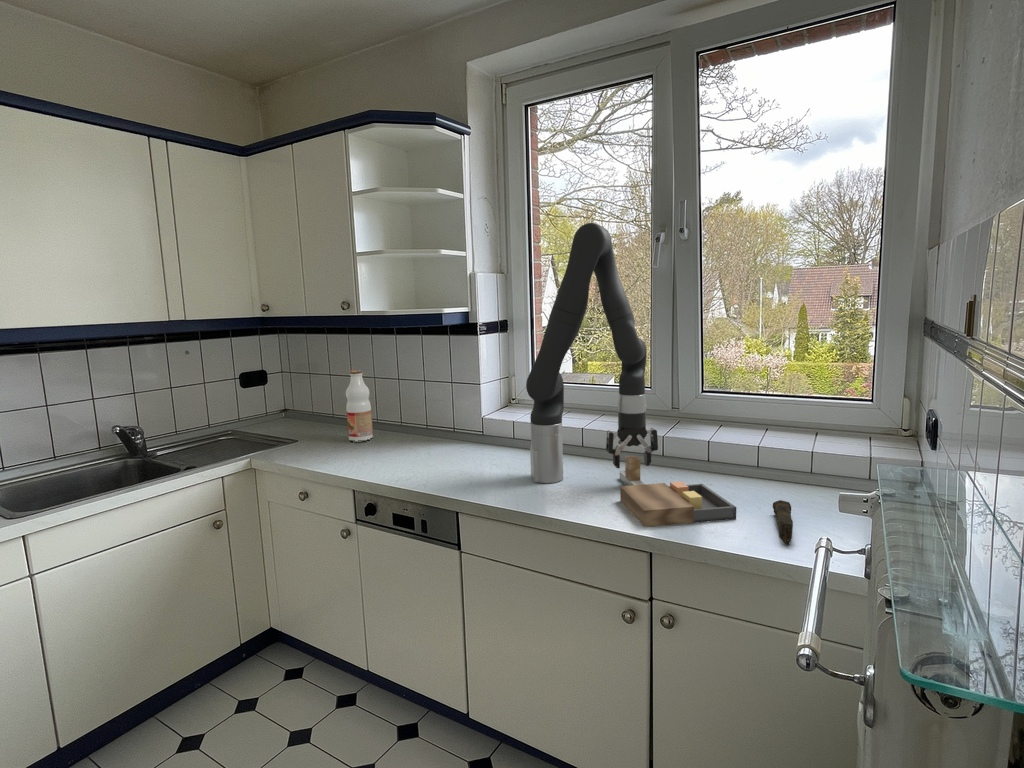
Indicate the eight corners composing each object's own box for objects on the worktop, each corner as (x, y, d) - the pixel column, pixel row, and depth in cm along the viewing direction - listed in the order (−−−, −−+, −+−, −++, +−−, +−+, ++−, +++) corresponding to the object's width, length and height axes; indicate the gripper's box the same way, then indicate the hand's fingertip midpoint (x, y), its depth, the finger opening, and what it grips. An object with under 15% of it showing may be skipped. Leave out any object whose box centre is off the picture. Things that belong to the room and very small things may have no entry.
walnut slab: (644, 527, 134) (644, 510, 134) (620, 501, 152) (620, 486, 151) (693, 522, 136) (693, 506, 135) (664, 497, 153) (664, 482, 153)
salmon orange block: (677, 487, 145) (688, 486, 146) (670, 482, 150) (681, 481, 150) (677, 504, 146) (688, 504, 146) (670, 498, 150) (681, 498, 151)
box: (693, 522, 136) (693, 510, 135) (664, 497, 153) (664, 486, 153) (736, 519, 137) (736, 507, 136) (702, 494, 155) (702, 483, 154)
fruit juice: (368, 442, 226) (363, 371, 222) (345, 443, 227) (339, 372, 223) (376, 437, 235) (371, 368, 231) (353, 437, 236) (348, 369, 232)
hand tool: (772, 514, 140) (772, 496, 139) (791, 516, 138) (791, 497, 137) (772, 546, 123) (772, 525, 122) (793, 548, 121) (794, 527, 120)
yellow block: (690, 497, 138) (702, 496, 138) (682, 491, 142) (693, 490, 143) (690, 515, 138) (701, 514, 139) (682, 509, 143) (693, 508, 143)
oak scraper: (636, 496, 156) (636, 465, 155) (619, 479, 171) (619, 451, 169) (647, 495, 156) (647, 464, 155) (629, 478, 171) (629, 450, 170)
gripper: (651, 406, 165) (651, 461, 167) (603, 408, 163) (603, 464, 166) (661, 410, 158) (661, 468, 160) (610, 413, 156) (611, 472, 158)
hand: (632, 466), depth 163 cm, fingers open, 8 cm apart
